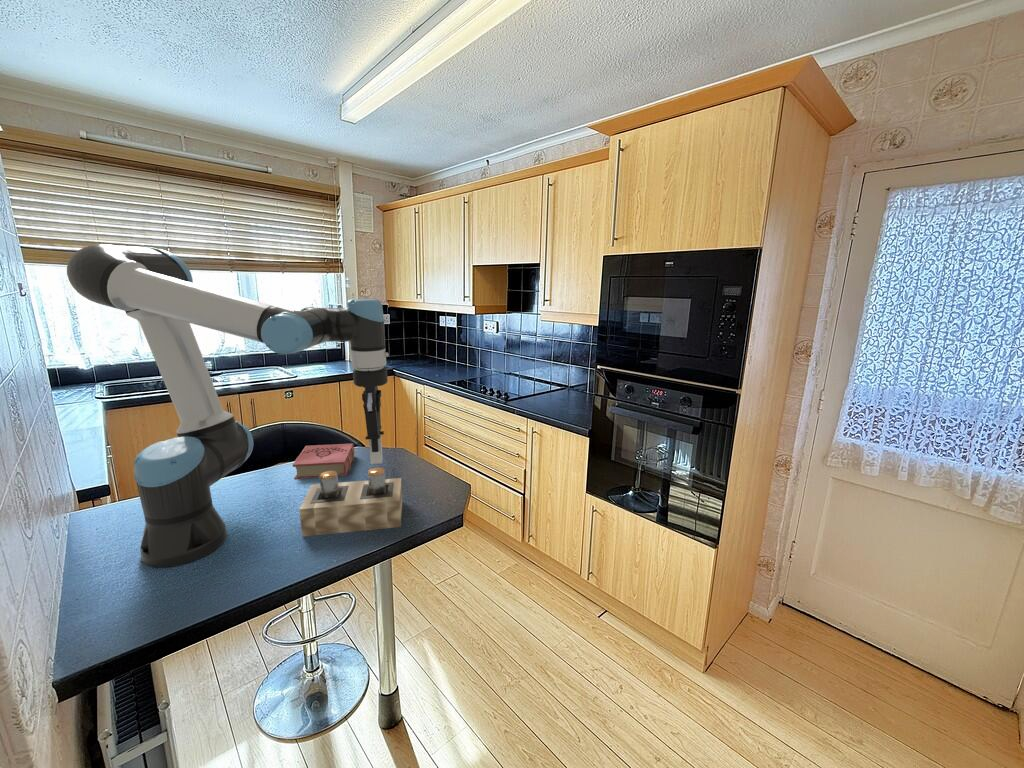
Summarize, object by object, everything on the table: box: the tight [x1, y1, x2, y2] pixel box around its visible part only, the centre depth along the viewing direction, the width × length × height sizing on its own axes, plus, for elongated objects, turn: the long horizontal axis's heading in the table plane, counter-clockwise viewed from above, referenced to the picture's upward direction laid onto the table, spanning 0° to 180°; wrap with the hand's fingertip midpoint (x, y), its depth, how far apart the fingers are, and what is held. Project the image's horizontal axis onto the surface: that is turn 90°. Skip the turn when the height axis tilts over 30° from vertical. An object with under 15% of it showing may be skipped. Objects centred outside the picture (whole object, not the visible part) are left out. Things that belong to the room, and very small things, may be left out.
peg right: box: [367, 467, 386, 496], centre depth 106 cm, size 4×4×7 cm
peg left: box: [318, 471, 340, 500], centre depth 104 cm, size 4×4×7 cm
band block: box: [299, 477, 403, 538], centre depth 106 cm, size 22×12×7 cm, turn 102°
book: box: [292, 443, 356, 480], centre depth 134 cm, size 14×15×5 cm
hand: (376, 462), depth 105 cm, fingers closed
